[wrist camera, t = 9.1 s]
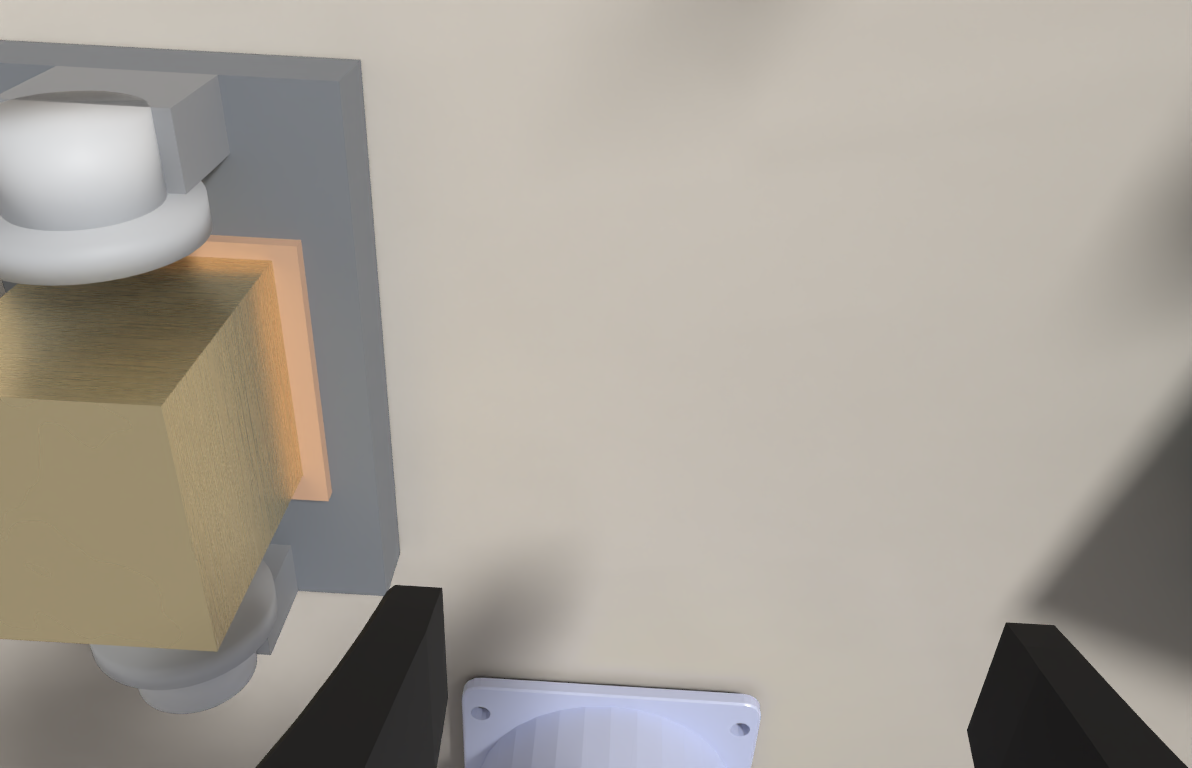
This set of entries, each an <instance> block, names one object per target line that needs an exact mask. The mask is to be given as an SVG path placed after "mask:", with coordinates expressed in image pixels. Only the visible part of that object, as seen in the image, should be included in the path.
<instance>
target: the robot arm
mask: <svg viewBox="0 0 1192 768" xmlns="http://www.w3.org/2000/svg"><path fill="white" fill-rule="evenodd" d="M447 700H448V691H447V671H446V652H445V633H444V613H443V594H442V588H435V587H419V586H402V585H395V586H393V587H392V588H390V589H389V590H388V591H387V592H386V593H385V595H384V597H383V598H382V600H381V602H380V603H379V605H378V607H377V608H376V610H375V611H374V613H373V614H372V616H371V618H370V619H369V621H368V622H367V624H366V625H365V627H364V628H363V630H362V631H361V633H360V634H359V636H358V637H357V639H356V640H355V642H354V643H353V644H352V646H351V647H350V649H349V650H348V651H347V653H346V654H345V656H344V657H343V659H342V660H341V661H340V663H339V664H338V666H337V667H336V668H335V670H334V671H333V672H332V674H331V675H330V676H329V678H328V679H327V680H326V682H325V683H324V684H323V685H322V687H321V688H320V689H319V691H318V692H317V693H316V695H315V696H314V697H313V699H312V700H311V701H310V702H309V704H308V705H307V706H306V708H305V709H304V710H303V712H302V713H301V714H300V715H299V717H298V718H297V719H296V720H295V722H294V723H293V724H292V725H291V726H290V728H289V729H288V730H287V731H286V732H285V734H284V735H283V736H282V737H281V738H280V739H279V741H278V742H277V743H276V744H275V745H274V746H273V748H272V749H271V750H270V751H269V752H268V753H267V755H266V756H265V757H264V758H263V759H262V761H261V762H260V763H259V764H258V765H257V766H256V768H437V762H438V756H439V750H440V744H441V738H442V732H443V725H444V719H445V712H446V706H447ZM479 707H484V708H479ZM462 715H463V740H464V764H465V768H751V765H752V760H753V755H754V750H755V745H756V740H757V735H758V730H759V724H760V719H761V712H760V704H759V702H758V701H757V699H756V698H754V697H752V696H751V695H746V694H738V693H722V692H706V691H690V690H674V689H658V688H642V687H625V686H609V685H593V684H577V683H561V682H545V681H529V680H513V679H497V678H474V679H472V680H469V681H468V682H467V683H466V684H465V686H464V690H463V695H462ZM737 723H743V724H737ZM967 732H968V737H969V742H970V747H971V753H972V758H973V763H974V768H1188V767H1187V766H1186V765H1185V764H1184V763H1183V762H1182V761H1181V760H1180V759H1179V758H1178V757H1177V756H1176V755H1175V754H1174V753H1173V752H1172V751H1171V750H1170V749H1169V748H1168V747H1167V746H1166V745H1165V744H1164V742H1163V741H1162V740H1161V739H1160V738H1159V737H1158V736H1157V735H1156V734H1155V733H1154V732H1153V731H1152V730H1151V729H1150V728H1149V727H1148V726H1147V725H1146V724H1145V722H1144V721H1143V720H1142V719H1141V718H1140V717H1139V716H1138V715H1137V714H1136V713H1135V712H1134V711H1133V710H1132V709H1131V708H1130V706H1129V705H1128V704H1127V703H1126V702H1125V701H1124V700H1123V699H1122V698H1121V697H1120V696H1119V695H1118V694H1117V692H1116V691H1115V690H1114V689H1113V688H1112V687H1111V686H1110V685H1109V684H1108V683H1107V682H1106V681H1105V679H1104V678H1103V677H1102V676H1101V675H1100V674H1099V673H1098V672H1097V671H1096V670H1095V669H1094V667H1093V666H1092V665H1091V664H1090V663H1089V662H1088V661H1087V660H1086V659H1085V658H1084V657H1083V655H1082V654H1081V653H1080V652H1079V651H1078V650H1077V649H1076V648H1075V647H1074V646H1073V645H1072V644H1071V643H1070V641H1069V640H1068V639H1067V638H1066V637H1065V636H1064V635H1063V634H1062V633H1061V632H1060V631H1059V630H1058V629H1057V628H1056V627H1055V626H1054V625H1038V624H1022V623H1006V624H1005V627H1004V629H1003V632H1002V635H1001V638H1000V640H999V643H998V646H997V649H996V651H995V654H994V657H993V660H992V663H991V665H990V668H989V671H988V674H987V676H986V679H985V682H984V685H983V687H982V690H981V693H980V696H979V698H978V701H977V704H976V707H975V709H974V712H973V715H972V718H971V720H970V723H969V726H968V729H967Z"/></svg>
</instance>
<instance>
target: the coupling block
mask: <svg viewBox="0 0 1192 768" xmlns="http://www.w3.org/2000/svg"><path fill="white" fill-rule="evenodd" d="M302 476H303V470H302V463H301V457H300V450H299V443H298V436H297V429H296V422H295V415H294V409H293V402H292V395H291V388H290V381H289V374H288V367H287V360H286V354H285V347H284V340H283V333H282V326H281V319H280V312H279V305H278V299H277V292H276V285H275V278H274V271H273V264H272V261H270V260H252V259H233V258H215V257H196V256H186V257H184V258H182V259H180V260H178V261H176V262H174V263H171V264H169V265H167V266H164V267H161V268H158V269H155V270H152V271H149V272H146V273H142V274H139V275H135V276H130V277H126V278H122V279H116V280H111V281H105V282H97V283H90V284H79V285H59V286H46V285H28V284H19V283H18V284H17V285H15V286H14V287H13V288H12V289H11V290H9V291H8V292H7V293H6V294H4V295H3V296H2V297H1V298H0V639H12V640H29V641H46V642H63V643H80V644H97V645H113V646H130V647H147V648H164V649H181V650H198V651H215V652H217V651H218V649H219V647H220V645H221V643H222V641H223V639H224V637H225V635H226V633H227V631H228V629H229V627H230V625H231V623H232V621H233V618H234V616H235V614H236V612H237V610H238V608H239V606H240V604H241V602H242V600H243V598H244V596H245V594H246V592H247V590H248V588H249V585H250V583H251V581H252V579H253V577H254V575H255V573H256V571H257V569H258V567H259V565H260V563H261V561H262V559H263V557H264V555H265V552H266V550H267V548H268V546H269V544H270V542H271V540H272V538H273V536H274V534H275V532H276V530H277V528H278V526H279V524H280V522H281V519H282V517H283V515H284V513H285V511H286V509H287V507H288V505H289V503H290V501H291V499H292V497H293V495H294V493H295V491H296V489H297V486H298V484H299V482H300V480H301V478H302Z"/></svg>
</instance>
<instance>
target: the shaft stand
mask: <svg viewBox="0 0 1192 768" xmlns="http://www.w3.org/2000/svg"><path fill="white" fill-rule="evenodd" d="M186 256H196V257H215V258H233V259H252V260H270V261H272V264H273V271H274V278H275V285H276V292H277V299H278V305H279V312H280V319H281V326H282V333H283V340H284V347H285V354H286V360H287V367H288V374H289V381H290V388H291V395H292V402H293V409H294V415H295V422H296V429H297V436H298V443H299V450H300V457H301V463H302V470H303V476H302V478H301V480H300V482H299V484H298V486H297V489H296V491H295V493H294V495H293V497H292V499H291V501H290V503H289V505H288V507H287V509H286V511H285V513H284V515H283V517H282V519H281V522H280V524H279V526H278V528H277V530H276V532H275V534H274V536H273V538H272V540H271V542H270V544H269V546H268V548H267V550H266V552H265V555H264V557H263V559H262V561H261V563H260V565H259V567H258V569H257V571H256V573H255V575H254V577H253V579H252V581H251V583H250V585H249V588H248V590H247V592H246V594H245V596H244V598H243V600H242V602H241V604H240V606H239V608H238V610H237V612H236V614H235V616H234V618H233V621H232V623H231V625H230V627H229V629H228V631H227V633H226V635H225V637H224V639H223V641H222V643H221V645H220V647H219V649H218V651H217V652H215V651H198V650H181V649H164V648H147V647H130V646H113V645H97V644H90V647H91V651H92V654H93V657H94V659H95V661H96V663H97V665H98V666H99V668H100V669H101V670H102V671H103V672H104V673H105V674H106V675H107V676H109V677H110V678H112V679H113V680H115V681H117V682H119V683H121V684H124V685H126V686H130V687H134V688H138V689H139V692H140V694H141V696H142V698H143V699H144V700H145V702H146V703H148V704H149V705H150V706H152V707H153V708H155V709H157V710H160V711H163V712H167V713H173V714H188V713H195V712H200V711H204V710H208V709H210V708H213V707H216V706H218V705H220V704H222V703H224V702H225V701H227V700H229V699H230V698H232V697H233V696H234V695H236V694H237V693H238V692H239V691H240V690H242V689H243V688H244V686H245V685H246V684H247V683H248V682H249V680H250V679H251V677H252V675H253V673H254V671H255V668H256V664H257V654H264V655H271V653H272V651H273V649H274V646H275V644H276V642H277V639H278V637H279V635H280V632H281V630H282V627H283V625H284V623H285V620H286V618H287V616H288V613H289V611H290V608H291V606H292V604H293V601H294V599H295V597H296V594H297V592H298V591H312V592H328V593H345V594H361V595H377V596H384V595H385V593H386V592H387V591H388V590H389V587H390V584H391V581H392V578H393V574H394V571H395V568H396V565H397V562H398V558H399V555H400V547H399V534H398V522H397V509H396V497H395V484H394V472H393V459H392V447H391V434H390V422H389V409H388V397H387V384H386V372H385V359H384V347H383V334H382V322H381V309H380V297H379V284H378V272H377V259H376V247H375V234H374V222H373V209H372V197H371V184H370V172H369V159H368V147H367V134H366V122H365V109H364V97H363V84H362V72H361V60H352V59H334V58H316V57H297V56H279V55H261V54H243V53H225V52H207V51H188V50H170V49H152V48H134V47H116V46H97V45H79V44H61V43H43V42H25V41H6V40H0V280H2V282H3V285H4V288H5V292H6V293H7V292H8V291H9V290H11V289H12V288H13V287H14V286H15V285H17V284H18V283H19V284H28V285H46V286H59V285H79V284H90V283H97V282H105V281H111V280H116V279H122V278H126V277H130V276H135V275H139V274H142V273H146V272H149V271H152V270H155V269H158V268H161V267H164V266H167V265H169V264H171V263H174V262H176V261H178V260H180V259H182V258H184V257H186Z"/></svg>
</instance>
